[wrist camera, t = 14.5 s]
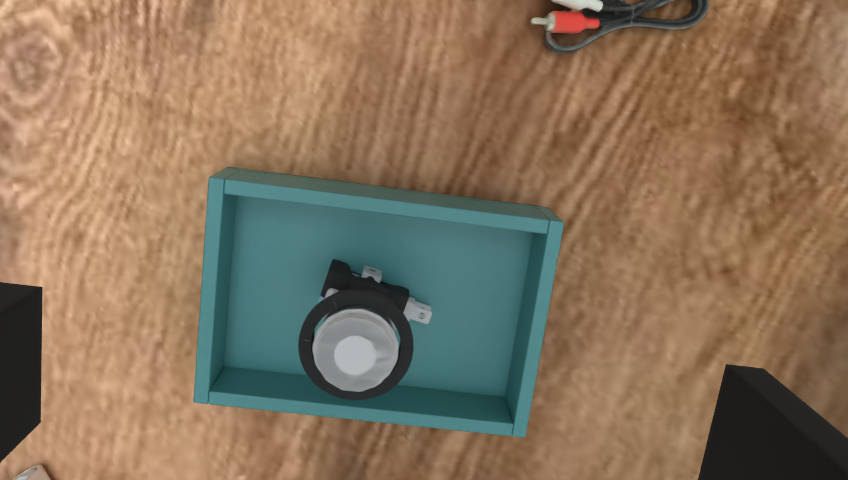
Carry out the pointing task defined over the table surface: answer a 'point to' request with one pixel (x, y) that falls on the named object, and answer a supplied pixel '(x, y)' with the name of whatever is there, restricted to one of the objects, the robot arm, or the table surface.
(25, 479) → the tablet stand
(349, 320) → the push button
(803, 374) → the table surface
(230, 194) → the tray
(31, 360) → the robot arm
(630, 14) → the composite cable
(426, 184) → the table surface
